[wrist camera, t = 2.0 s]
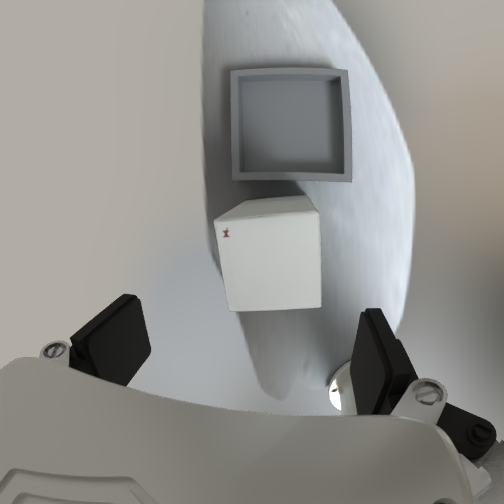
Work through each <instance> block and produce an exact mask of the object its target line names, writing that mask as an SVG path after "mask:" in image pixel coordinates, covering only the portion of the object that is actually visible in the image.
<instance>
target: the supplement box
mask: <svg viewBox="0 0 504 504" xmlns="http://www.w3.org/2000/svg"><path fill="white" fill-rule="evenodd" d="M213 222H214V228H215V233H216V239H217V245H218V251H219V257H220V262H221V268H222V274H223V280H224V286H225V292H226V297H227V303H228V308H229V311H230V312H231V311H232V312H235V311H265V310H286V309H304V308H320V307H321V236H320V215H319V212H318V211H317V210H316V208H315V207H314V205H313V203H312V202H311V200H310V198H309V197H308V196H307V195H295V196H282V197H271V198H262V199H253V200H245V201H244V202H242V203H241V204H239V205H237V206H236V207H234V208H233V209H231V210H229V211H228V212H226V213H225V214H223V215H221V216H220V217H218V218H217V219H215V220H214V221H213Z"/></svg>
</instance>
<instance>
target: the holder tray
mask: <svg viewBox="0 0 504 504" xmlns="http://www.w3.org/2000/svg"><path fill="white" fill-rule="evenodd" d="M230 88H231V164H232V181H233V180H306V181H334V182H352V127H351V106H350V92H349V80H348V70H341V69H327V68H300V67H284V68H257V69H243V70H232V71H230Z"/></svg>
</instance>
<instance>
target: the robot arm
mask: <svg viewBox="0 0 504 504" xmlns="http://www.w3.org/2000/svg"><path fill="white" fill-rule="evenodd" d="M70 340H71V342H72V346H71V347H70V346H69V344H68V343H67V342H65V341H54V342H51V343H49V344H47V345H46V346H44V347H43V348H42V350H41V352H40V357H39V358H35V357H23V358H17V359H15V360H13V361H11V362H10V363H9V364H7V365H6V366H4V367H3V368H2V369H0V504H504V441H503V440H501V441H500V442H498V441H497V440H496V430H495V428H494V426H493V425H492V424H491V423H490V422H489V421H487V420H485V419H483V418H481V417H478V416H476V415H474V414H471V413H469V412H467V411H464V410H462V409H460V408H458V407H455V406H453V405H451V404H449V403H447V402H446V401H447V396H448V394H447V390H446V389H445V387H444V386H443V385H442V384H441V383H440V382H438V381H436V380H433V379H429V378H422V379H419V378H418V376H417V374H416V372H415V370H414V368H413V365H412V364H411V361H410V359H409V357H408V355H407V353H406V351H405V349H404V347H403V345H402V343H401V341H400V340H399V339H396V338H395V336H394V334H393V332H392V330H391V328H390V326H389V324H388V322H387V320H386V318H385V316H384V314H383V312H382V310H381V309H380V308H367V309H366V310H365V312H361V314H360V320H359V325H358V330H357V335H356V340H355V345H354V350H353V354H352V359H351V360H350V361H349V362H347V363H345V364H344V365H343V366H342V367H340V368H339V369H338V370H337V372H336V373H335V374H334V375H333V377H332V379H331V380H330V383H329V398H330V401H331V402H332V404H333V405H334V406H335V407H336V408H338V409H340V410H341V415H291V414H273V413H262V412H252V411H243V410H234V409H227V408H220V407H214V406H208V405H202V404H197V403H191V402H186V401H181V400H176V399H172V398H167V397H163V396H159V395H155V394H150V393H147V392H143V391H139V390H136V389H132V388H129V387H126V386H127V385H128V383H129V382H130V380H131V379H132V378H133V377H134V375H135V374H136V373H137V371H138V370H139V368H140V367H141V366H142V364H143V363H144V362H145V361H146V359H147V358H148V357H149V355H150V353H151V346H150V342H149V338H148V333H147V329H146V325H145V320H144V315H143V311H142V306H141V301H140V299H138V298H137V296H136V295H131V294H123V295H122V296H120V297H119V298H118V299H116V300H115V301H114V302H113V303H111V304H110V305H109V306H108V307H107V308H105V309H104V310H103V311H102V312H100V313H99V314H98V315H97V316H95V317H94V318H93V319H92V320H91V321H89V322H88V323H87V324H86V325H84V326H83V327H82V328H81V329H80V330H79V331H77V332H76V333H75V334H74V335H73V336H71V337H70Z"/></svg>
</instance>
